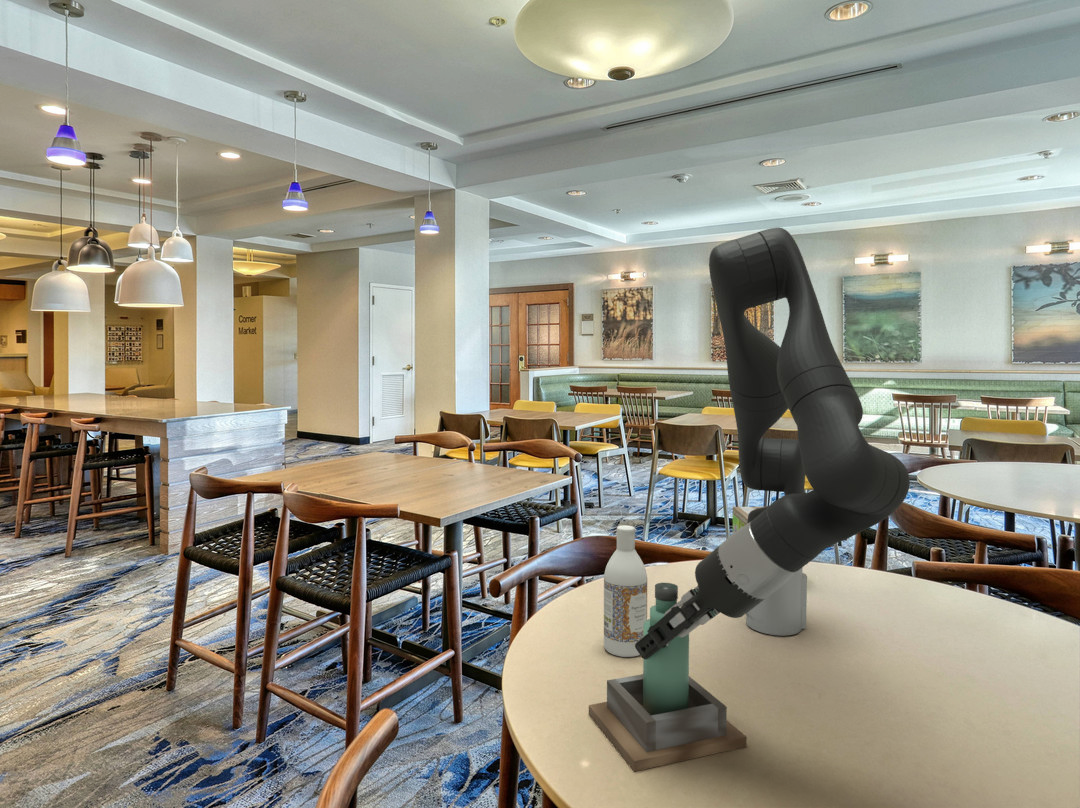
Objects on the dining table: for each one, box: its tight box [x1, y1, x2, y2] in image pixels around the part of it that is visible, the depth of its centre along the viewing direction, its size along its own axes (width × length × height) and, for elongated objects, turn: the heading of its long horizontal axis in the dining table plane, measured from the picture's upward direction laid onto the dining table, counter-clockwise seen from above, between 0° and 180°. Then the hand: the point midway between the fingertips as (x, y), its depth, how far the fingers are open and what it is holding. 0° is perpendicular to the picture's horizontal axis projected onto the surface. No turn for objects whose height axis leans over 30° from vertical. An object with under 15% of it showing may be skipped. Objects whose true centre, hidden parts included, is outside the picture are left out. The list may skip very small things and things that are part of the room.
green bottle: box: [642, 582, 690, 715], centre depth 81 cm, size 6×6×16 cm
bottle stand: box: [588, 673, 748, 772], centre depth 81 cm, size 15×13×5 cm
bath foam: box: [603, 524, 648, 658], centre depth 105 cm, size 7×7×20 cm
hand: (652, 643), depth 82 cm, fingers closed on green bottle, 5 cm apart
